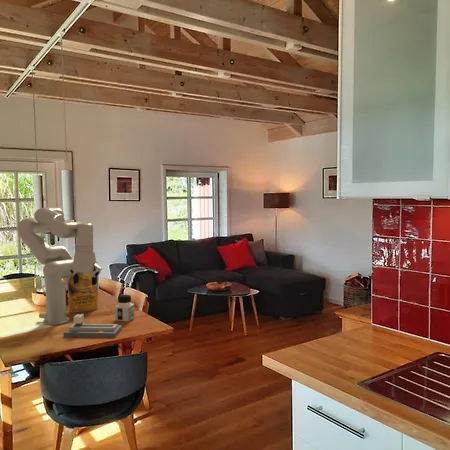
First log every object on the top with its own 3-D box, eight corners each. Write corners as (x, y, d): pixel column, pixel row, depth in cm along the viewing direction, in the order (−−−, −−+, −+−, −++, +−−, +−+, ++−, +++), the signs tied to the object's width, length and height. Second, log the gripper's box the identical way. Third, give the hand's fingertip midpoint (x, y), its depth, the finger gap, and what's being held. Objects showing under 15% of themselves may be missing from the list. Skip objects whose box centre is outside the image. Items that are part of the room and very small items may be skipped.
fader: (73, 329, 198) (73, 316, 197) (77, 326, 203) (77, 313, 202) (80, 329, 198) (79, 316, 197) (83, 326, 203) (83, 313, 202)
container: (128, 321, 218) (128, 297, 218) (114, 320, 220) (114, 296, 219) (134, 317, 226) (134, 293, 225) (121, 316, 228) (120, 292, 227)
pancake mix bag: (64, 311, 237) (63, 262, 235) (98, 306, 247) (97, 259, 246) (67, 314, 231) (65, 263, 229) (101, 309, 242) (100, 261, 240)
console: (63, 336, 194) (63, 329, 194) (73, 328, 206) (73, 321, 206) (115, 337, 194) (115, 330, 194) (122, 329, 206) (121, 322, 206)
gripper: (64, 249, 200) (64, 284, 202) (97, 251, 196) (97, 287, 198) (73, 247, 207) (73, 281, 209) (105, 249, 203) (105, 283, 205)
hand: (85, 284), depth 203 cm, fingers open, 9 cm apart
